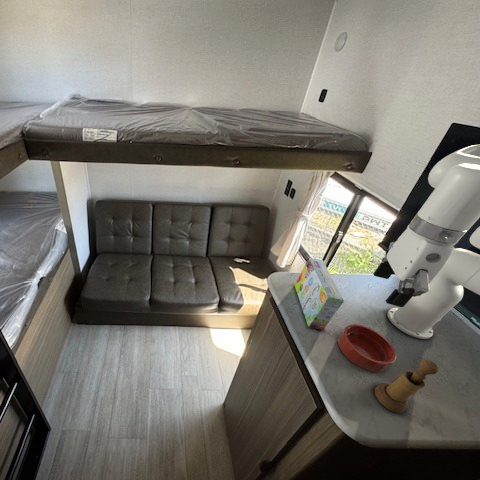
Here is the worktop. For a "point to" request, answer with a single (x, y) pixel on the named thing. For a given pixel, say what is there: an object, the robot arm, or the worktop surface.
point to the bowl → (366, 348)
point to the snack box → (317, 294)
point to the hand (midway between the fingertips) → (386, 289)
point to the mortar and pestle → (404, 387)
